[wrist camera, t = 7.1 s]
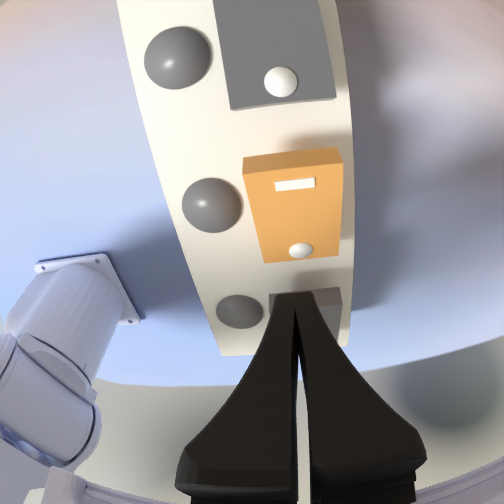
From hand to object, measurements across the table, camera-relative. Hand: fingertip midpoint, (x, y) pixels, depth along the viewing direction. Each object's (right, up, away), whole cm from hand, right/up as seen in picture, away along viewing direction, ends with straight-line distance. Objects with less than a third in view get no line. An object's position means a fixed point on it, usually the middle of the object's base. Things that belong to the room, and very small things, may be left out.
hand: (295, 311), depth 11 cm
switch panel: (-1, +5, +9) cm, 10 cm away
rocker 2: (0, +4, +3) cm, 5 cm away
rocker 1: (-1, +11, -2) cm, 11 cm away
